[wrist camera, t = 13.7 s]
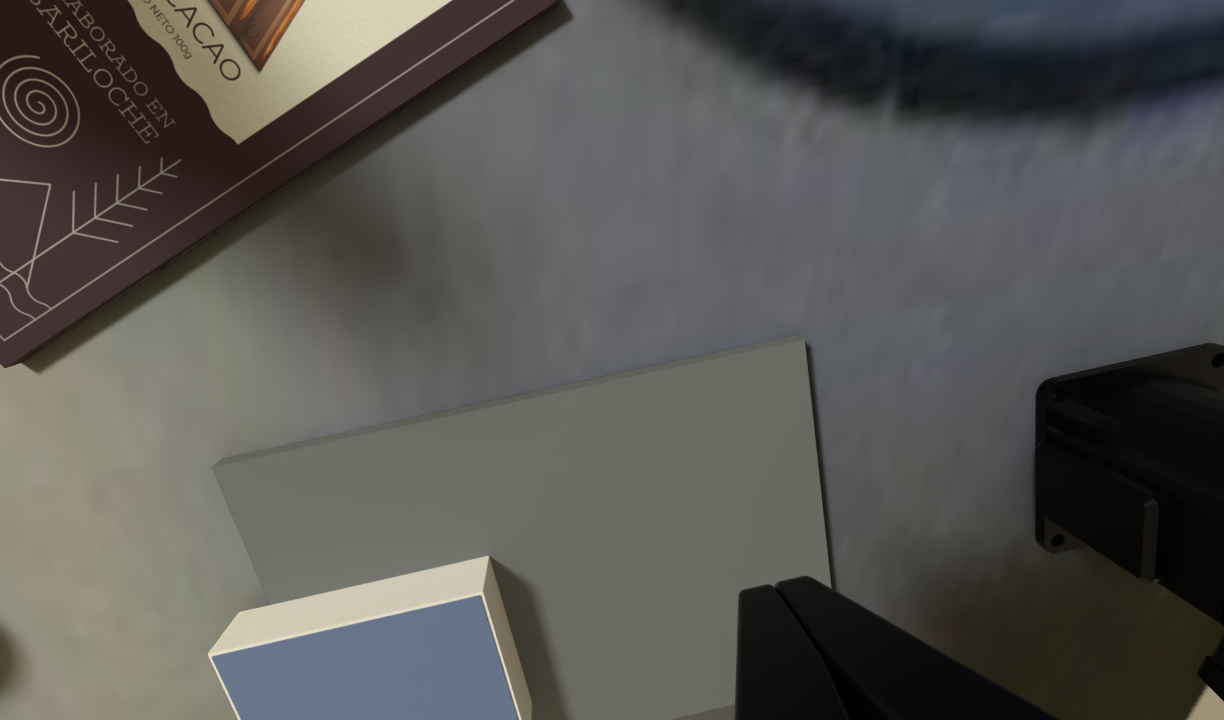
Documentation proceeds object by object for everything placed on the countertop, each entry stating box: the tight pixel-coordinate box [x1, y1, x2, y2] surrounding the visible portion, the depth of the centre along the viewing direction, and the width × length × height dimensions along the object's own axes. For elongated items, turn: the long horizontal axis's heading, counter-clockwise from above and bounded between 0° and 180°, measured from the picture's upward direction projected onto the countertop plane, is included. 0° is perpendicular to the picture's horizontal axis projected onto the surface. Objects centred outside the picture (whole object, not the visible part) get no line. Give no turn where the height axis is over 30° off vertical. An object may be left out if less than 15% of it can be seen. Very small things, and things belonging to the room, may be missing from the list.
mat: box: [212, 335, 832, 720], centre depth 20 cm, size 18×13×1 cm
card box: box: [208, 556, 532, 720], centre depth 19 cm, size 6×2×8 cm
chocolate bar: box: [0, 0, 559, 368], centre depth 15 cm, size 9×1×18 cm
